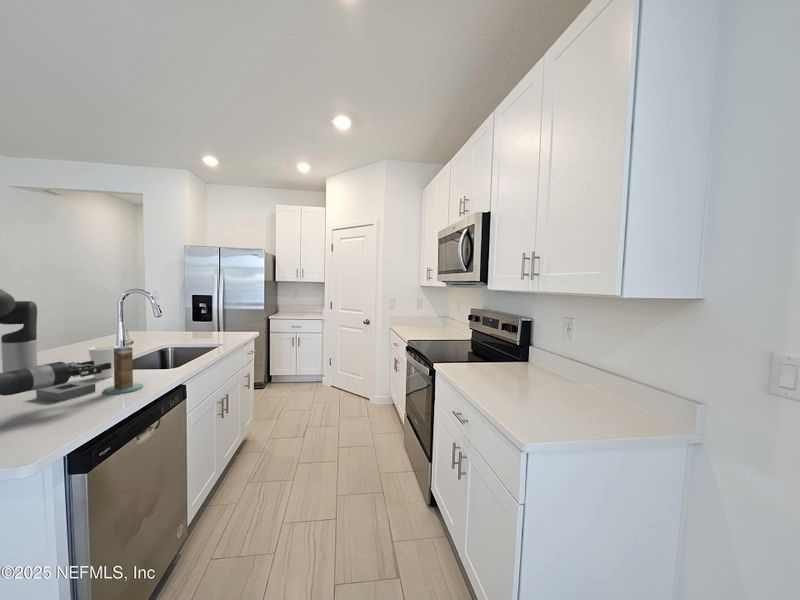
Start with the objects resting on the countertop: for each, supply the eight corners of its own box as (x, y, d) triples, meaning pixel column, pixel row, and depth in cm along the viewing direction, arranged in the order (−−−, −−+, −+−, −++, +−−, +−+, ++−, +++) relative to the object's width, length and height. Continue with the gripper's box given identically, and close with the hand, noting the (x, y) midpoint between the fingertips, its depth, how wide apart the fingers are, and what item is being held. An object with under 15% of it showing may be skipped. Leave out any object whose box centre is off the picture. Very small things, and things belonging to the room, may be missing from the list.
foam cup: (106, 373, 148) (105, 345, 148) (123, 374, 147) (123, 346, 146) (83, 379, 139) (82, 349, 138) (101, 380, 138) (101, 350, 137)
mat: (103, 388, 129) (103, 386, 129) (142, 382, 137) (142, 381, 137) (103, 396, 120) (103, 395, 120) (144, 390, 128) (144, 388, 128)
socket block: (36, 398, 117) (36, 389, 117) (74, 388, 128) (74, 380, 127) (58, 401, 114) (58, 393, 114) (95, 391, 125) (95, 383, 125)
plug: (114, 388, 127) (113, 348, 126) (125, 385, 131) (124, 346, 130) (122, 389, 126) (121, 348, 125) (132, 386, 130) (132, 347, 129)
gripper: (60, 366, 103) (116, 356, 119) (29, 362, 106) (87, 352, 122) (61, 389, 103) (116, 376, 119) (29, 385, 107) (87, 372, 122)
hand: (101, 364), depth 120 cm, fingers open, 8 cm apart
